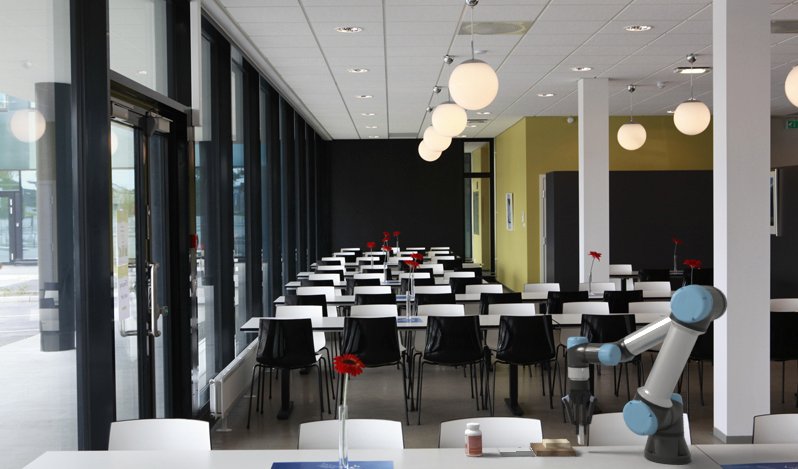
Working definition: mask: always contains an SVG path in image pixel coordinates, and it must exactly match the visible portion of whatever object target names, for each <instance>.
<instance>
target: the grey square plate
mask: <svg viewBox="0 0 798 469" xmlns="http://www.w3.org/2000/svg"><path fill="white" fill-rule="evenodd" d="M521 447H522V446H521ZM521 447H519V448H521ZM499 454H500V456H501V457H508V458H509V457H511V458H512V457H521V458H522V457H524V458H525V457H536V455H535V454H534V452H533V451H532V450H531V451H516V452H499Z"/></svg>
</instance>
